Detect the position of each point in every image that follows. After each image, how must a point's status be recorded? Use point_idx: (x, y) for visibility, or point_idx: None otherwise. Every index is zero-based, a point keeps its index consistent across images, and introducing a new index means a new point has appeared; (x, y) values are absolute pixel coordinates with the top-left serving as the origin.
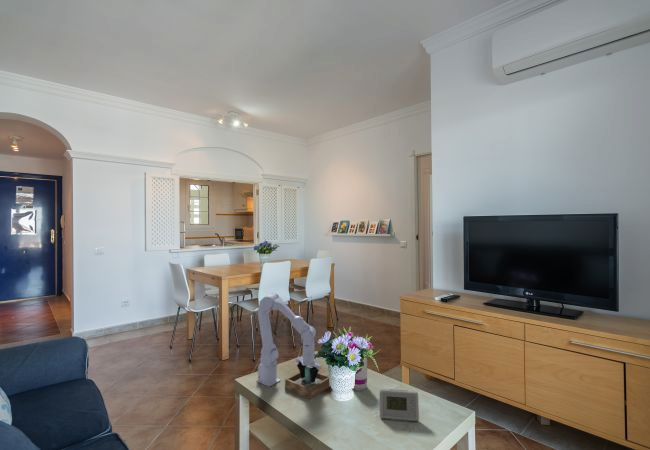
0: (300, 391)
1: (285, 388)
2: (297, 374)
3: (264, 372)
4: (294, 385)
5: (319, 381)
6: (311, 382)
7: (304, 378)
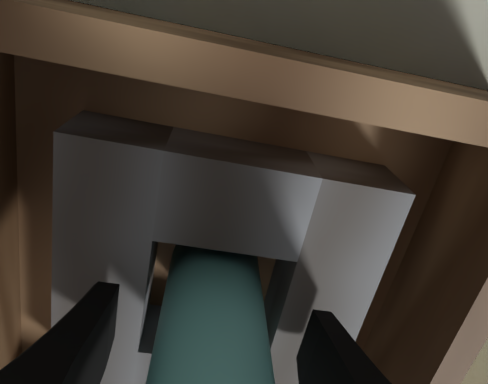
0: (185, 28)
1: (484, 90)
2: (437, 361)
3: None
4: (342, 67)
5: None
6: None
7: None
